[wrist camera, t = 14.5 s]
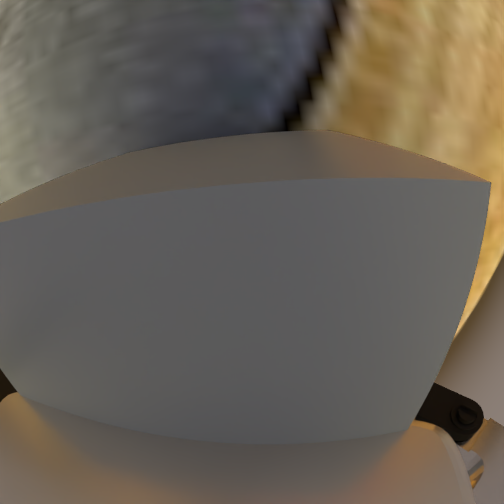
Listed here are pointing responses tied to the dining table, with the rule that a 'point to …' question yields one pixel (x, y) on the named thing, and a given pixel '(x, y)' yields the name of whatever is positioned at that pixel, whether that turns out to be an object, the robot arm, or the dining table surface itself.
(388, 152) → the grey rectangular block
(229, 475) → the robot arm
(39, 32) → the dining table surface
